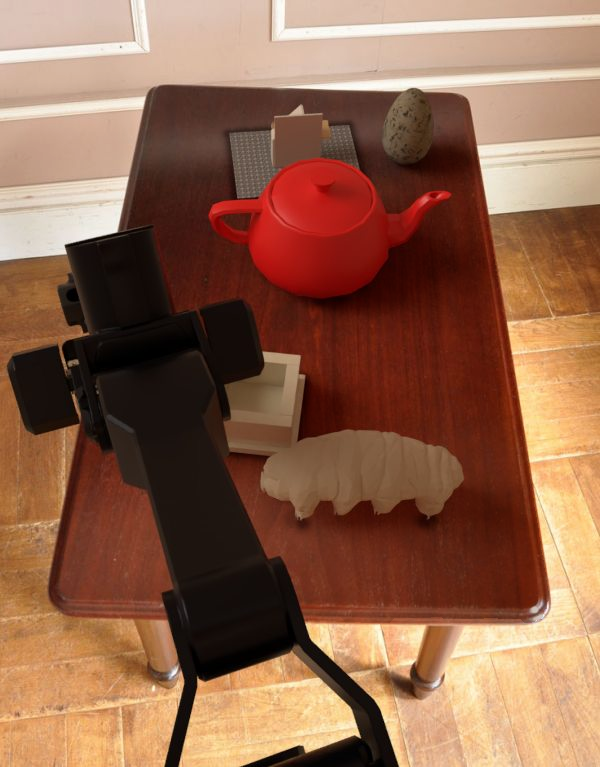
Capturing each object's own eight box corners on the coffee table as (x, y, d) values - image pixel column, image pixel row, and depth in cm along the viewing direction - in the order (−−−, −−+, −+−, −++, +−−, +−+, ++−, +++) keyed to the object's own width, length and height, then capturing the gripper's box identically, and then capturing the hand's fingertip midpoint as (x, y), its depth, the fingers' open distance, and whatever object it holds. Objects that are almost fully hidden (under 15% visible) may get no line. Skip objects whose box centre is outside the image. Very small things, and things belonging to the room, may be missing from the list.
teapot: (211, 315, 90) (203, 234, 80) (213, 208, 99) (206, 123, 89) (446, 310, 91) (468, 231, 81) (428, 205, 100) (445, 121, 90)
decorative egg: (387, 179, 102) (397, 111, 94) (372, 146, 105) (381, 77, 97) (434, 172, 103) (449, 103, 95) (418, 139, 106) (431, 70, 98)
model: (261, 468, 81) (260, 413, 72) (449, 469, 81) (469, 414, 73) (260, 533, 77) (258, 483, 69) (457, 534, 77) (479, 484, 69)
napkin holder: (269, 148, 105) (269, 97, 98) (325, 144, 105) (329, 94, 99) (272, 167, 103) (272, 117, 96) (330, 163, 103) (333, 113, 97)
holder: (295, 458, 81) (296, 432, 77) (201, 448, 82) (197, 421, 77) (305, 380, 86) (306, 351, 82) (216, 371, 86) (213, 341, 82)
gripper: (250, 233, 59) (215, 233, 74) (-27, 298, 55) (-5, 284, 70) (285, 387, 61) (245, 356, 76) (22, 459, 58) (34, 412, 73)
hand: (133, 350), depth 74 cm, fingers closed on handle, 3 cm apart
